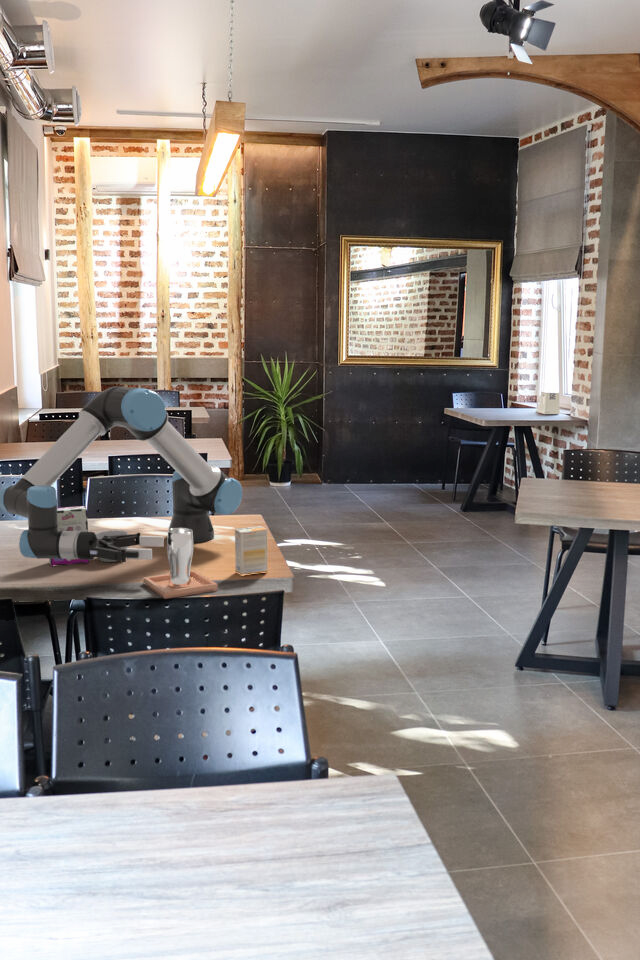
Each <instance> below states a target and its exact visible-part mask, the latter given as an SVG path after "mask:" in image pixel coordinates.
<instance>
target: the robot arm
mask: <svg viewBox="0 0 640 960" xmlns="http://www.w3.org/2000/svg"><path fill="white" fill-rule="evenodd" d="M114 427H122V428H125V429H126V430H128V431H129V432H130V434H131V435H132V436H134V437H135V438H136V440H137V441H141V442H147V443H148V444H149V445H150V446H151V447H152V448H153V449H154V450H155V451H156V452H157V453H158V454H159V455H160V456H161V457H162V458H163V459H164V461H166V462H167V463H168V464H169V465H170V466H171V467H172V468H173V469H174V470H175V471H174V472H173V473H172V481H171V485H172V516H171V521H170V523H169V527H168V529H167V531H168V530H169V529H172V528H188V529H192V530H193V543H201V542H207V541H210V540H213V539H214V538H215V530H214V526H213V523H212V520H211V517H210V514H209V512H210V513H215V514H217V515H224V516H225V515H231V514H233V513H235V511H236V510H237V509H238V508H239V507H240V506H241V502H242V499H243V487H242V484H241V482H240V481H239V480H237V479H236V478H234V477H228V476H227V475H226V474H225V473H224V471H222V470H221V469H220V468H219V467H218V466H217V465H210V464H209V463H208V462H207V461H206V460H205V459H204V458H203V457H202V456H201V454H200V453H198V451H197V450H196V449H195V448H194V447H193V446H192V445H191V444H190V443H189V442H188V441H187V440H186V439H185V437H183V436H182V434H181V433H180V432H179V431H178V430H177V429H176V428H175V426H173V425H172V424H171V423H170V422H169V413H168V411H167V410H166V403H165V401H164V400H163V398H162V397H161V395H160V394H158V393H157V392H156V391H153V390H151V389H148V388H144V387H130V386H129V387H128V386H120V385H116V386H115V385H114V386H112V387H108V388H106V389H105V390H102V391H101V392H100V393H98V394H97V395H96V396H95V397H93V398H92V399H90V401H89V402H88V403H87V404H86V405H84V406H83V408H82V409H81V410H79V412H78V418H77V419H76V420H75V421H74V422H73V423H72V425H71V426H70V427H68V429H67V430H66V431H64V433H63V434H62V435H60V437H59V438H58V439H57V440H56V442H54V443H53V444H52V445H51V447H49V449H48V450H47V451H46V452H45V453H44V454H42V456H41V457H40V458H39V459H38V460H37V461H36V462H35V463H34V464H33V465H32V467H30V469H29V470H27V472H26V473H24V474H23V476H22V477H21V478H20V479H19V480H18V481H17V482H16V483H15V484H14V485H7V486H4V487H3V488H1V490H0V508H1V509H2V510H3V511H5V512H8V513H9V514H11V515H17V516H20V517H23V518H26V519H27V523H28V524H27V526H28V528H27V529H24V530H23V531H22V533H20V536H19V542H18V543H19V545H18V546H19V551H20V554H21V555H22V556H23V557H25V558H31V559H33V558H34V559H38V560H40V559H48V560H49V559H67V560H68V561H71V559H78V558H79V559H81V560H89V561H92V560H94V559H95V558H97V557H99V558H104V559H110V560H115V562H121V563H126V562H127V560H148V561H149V560H153V548H140V547H155V548H156V547H160V548H161V547H163V548H164V545H165V543H164V539H165V538H164V537H165V536H161V535H160V536H158V535H157V536H156V535H155V536H153V535H141V532H136V533H134V534H133V533H132V534H129V535H116V536H104V537H103V538H102V539H97V537H96V534H95V533H96V532H94V531H88V532H79V531H58V524H57V508H58V498H57V490H56V488H55V487H54V486H53V485H54V484H55V483H56V482H57V480H58V479H59V478H60V477H62V475H63V474H64V473H65V472H66V471H67V470H68V469H69V468H70V467H71V466H72V465H73V464H74V463H75V461H76V460H77V459H78V458H79V457H80V456H81V455H82V454H83V453H84V452H85V451H86V450H87V448H88V447H90V446H91V444H92V443H93V442H94V441H95V440H96V439H97V438H98V437H99V436H105V434H106V433H107V432H108V431H110V430H111V429H112V428H114ZM128 546H129V548H127V551H126V550H125V549H122V548H121V547H128ZM134 546H139V548H135V547H134ZM131 547H133V548H131Z"/></svg>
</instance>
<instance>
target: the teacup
mask: <svg viewBox="0 0 640 960" xmlns="http://www.w3.org/2000/svg"><path fill="white" fill-rule="evenodd" d="M94 533H95V534H96V537H97V539H102V538H103V537H104V536H116V535H129V531H126V530H121V529H120V530H119V529H113V530H104V531H99V532H94ZM121 548H122V549H125V550H126V551H127V548H130V546H128V547H121ZM96 559H98V560H99V561H101V562H103V561H104V562H103V563H114V562H116V561H115V560H110V559H104V558H99V557H96Z"/></svg>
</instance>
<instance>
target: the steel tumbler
mask: <svg viewBox="0 0 640 960" xmlns="http://www.w3.org/2000/svg"><path fill="white" fill-rule="evenodd" d="M168 529H169V528H168ZM168 529H167V537H166V538H167V539H166V552H167V559H168V565H169V572H170V573H169V574H170V579H169V586H170V587H174V588H185V587H189V586H191V578H190V571H191V567H192V560H193V555H194V542H193V530H192V529H188V528H172V529H169V530H168Z"/></svg>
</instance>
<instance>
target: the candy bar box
mask: <svg viewBox="0 0 640 960" xmlns="http://www.w3.org/2000/svg"><path fill="white" fill-rule="evenodd" d="M88 523H89V522H88V508H87V507H86V506H85V505H81V506H68V507H67V506H66V507H57V524H58V531H79V532H89V525H88ZM48 561H49V562H50V563H49V565H50V566H51V567H54V566H53V565H62V566H69V565H68V564H72V565H79V564H80V563H82V564H88V563H90V560H81V559H79V558H78V559H71V561H68V560H67V559H48ZM80 565H81V564H80Z"/></svg>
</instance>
